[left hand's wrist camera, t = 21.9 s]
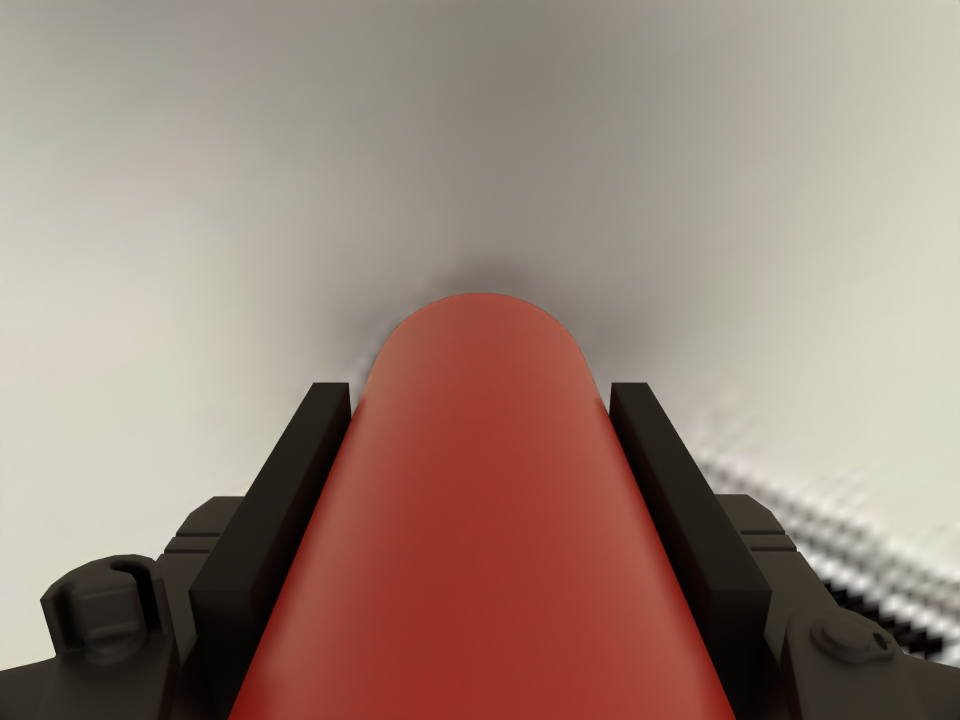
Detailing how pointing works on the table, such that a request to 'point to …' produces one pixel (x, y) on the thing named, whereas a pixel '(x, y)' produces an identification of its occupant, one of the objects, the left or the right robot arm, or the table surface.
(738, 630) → the left robot arm
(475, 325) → the canister
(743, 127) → the table surface
